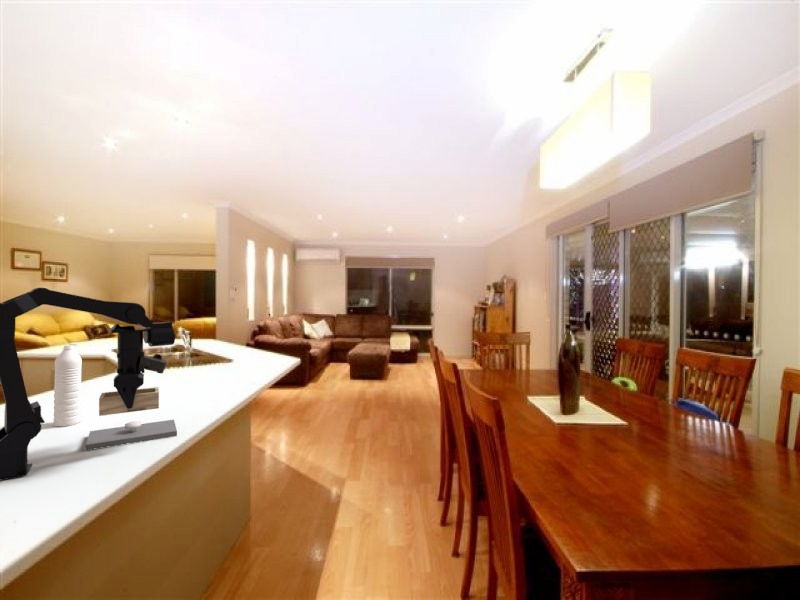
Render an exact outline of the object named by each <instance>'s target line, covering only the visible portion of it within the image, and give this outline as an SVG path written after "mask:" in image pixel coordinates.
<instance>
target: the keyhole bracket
mask: <svg viewBox="0 0 800 600" xmlns="http://www.w3.org/2000/svg"><path fill="white" fill-rule="evenodd" d="M156 409H160V391H159V386H157V387H156V386H155V387H147V388H146V387H145V388H138V389H137V390H136V394H135V398H134V403H133V407H132V408H131V409H127V407H126V405H125V403H124V402H123V400H122V398H121V396H120V394H119V393H118V391H117V390H115V391H109V392H108V391H107V392H101V394H100V396H99V399H98V416H99V417H101V416H111V415H118V414H125V413H132V412H133V413H134V412H140V411H141V412H143V411H149V410H156Z"/></svg>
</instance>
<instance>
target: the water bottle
mask: <svg viewBox="0 0 800 600" xmlns="http://www.w3.org/2000/svg"><path fill="white" fill-rule="evenodd" d="M80 346H81V345H80V342H71V343H70V342H69V344H64V345H63V348H62V349H63V350H61V353H59V355H58V356H57V357H56V358H55V359H54V383H53V384H54V386H53V388H54V389H53V391H54V394H53V398H54V400H53V404H54V405H53V410H54V411H53V426H54V427H57V428H58V427H67V426H68V427H69V426H73V425H77V424H79V423H80V422H81V420H82V414H81V412H82V408H81V407H82V367H83V365H82V364H83V362H82V361H83V359H82V357H81V356H80V354H79V353H78V352H77V351H76V350H75V347H80Z"/></svg>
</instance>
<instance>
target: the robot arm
mask: <svg viewBox="0 0 800 600" xmlns="http://www.w3.org/2000/svg"><path fill="white" fill-rule="evenodd" d="M43 305H47V306H51V307H52V306H53V307H57V308H58V307H59V308H61V309H62V308H65V309H69V310H74V311H80V312H84V313H92V314H97V315H99V316H103V317H106V318H110V319H113V320H116V321H118V322H121V323H124V324H127V325H123V326H122V325H120V324H119V323H115V324H113V326H112V327H110V328H109V329H108V330H107V332H108V333H110V334H117V353H116V359H117V368H116V375H115V376H114V378H113V387H114V388H115V389H116V391H118V393H119V394H120V396H121V398H122V400H123V402H124V403H125V405H126V407H127V409H131V408H132V407H133V403H134V398H135V394H136V390H137V389H140V387H142V386H143V385H144V382H145V381H144V378H145V377H144V376H145V370H148V371H151V372H156V373H157V374H163V373H164V372H165V369H166V367H167V364H168V361H167V360H166V359H163V357H162V354H160V353H159V354H158V353H155V354H154V355H153V356H149V355H145V351H144V344H148V347H150V348H151V347H161V346H162V347H163V346H173V345H174V344H175V342H176V333H175V330H174V327H173V321H172V322H171V321H163V322H152V320H151V319H150V318H149V317H148V316H147V314H146V309H145V308H144V306H143V305H142V304H140V303H137V302H129V301H128V302H127V301H126V302H125V301H112V300H111V301H110V300H108V301H107V300H101V299H96V298H91V297H86V296H82V295H81V296H80V295H76V294H71V293H67V292H61V291H57V290H52V289H48V288H45V287H34V288H32V289H31V290H30V291H28V292H26V293H23V294H20V295H18V296H15V297H13V298H10V299H6V300H5V301H3V302H0V385H1V389H2V392H3V397H4V401H5V402H4V426H3V427H2V428H1V429H0V481H4V480H10V479H15V478H21V477H25V476H27V475H28V473H29V472H30V470H31V468H32V467H33V463H28V457H29V455H28V454H29V453H28V452H29V444H30V443H31V440H33V439H34V438H36V437H37V436H38V435H39V433H40V432H42V431H41V430H42V424H45V422H46V421H45V420H44V418H43V416H42V406H41V404H40V403H39V401H38V400H37V401H33V402H32V403H31V402H30V400H29V398H28V393H27V390H26V384H25V381H24V377H23V373H22V368H21V364H20V360H19V355H18V352H17V347H16V343H15V340H16V339H15V336H16V318H17V317H20V316H23V315H25V314H27V313H28V312H30V311H32V310H34V309H37V308H39V307H41V306H43ZM128 324H129V325H128ZM134 325H136V326H138V327H142V328H136V327H135V326H134Z"/></svg>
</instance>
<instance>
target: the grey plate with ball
mask: <svg viewBox="0 0 800 600" xmlns="http://www.w3.org/2000/svg"><path fill="white" fill-rule="evenodd" d="M87 436H88V437H87V440H86V442H85V450H86V451H89V450H88V449H93V450H95V449H94V448H99V449H102V448H101V447H105V448H108V447H107V446H111V447H116V446H115V445H117V446H122V445H121V444H124V445H128V444H127V443H130V444H134V442H136V443H141V442H140V441H142V442H147V441H148V442H149V441H153V440H154V439H155V440H161V439H165V438H172V437H177V436H178V430H177V426H176V423H175V419H167V420H161V421H160V420H159V421H154V422H148V423H147V422H146V423H142V421H136V420H135V421H130V422H127V423H125V424H124V426H119V427H118V426H117V427H110V428H104V429H103V428H102V429H97V430H96V429H95V430H90V431H89V433H88V435H87ZM85 450H84V451H85Z"/></svg>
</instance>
